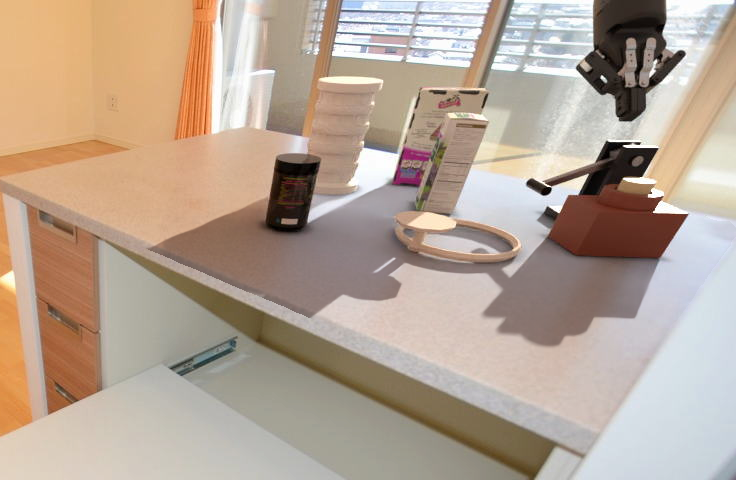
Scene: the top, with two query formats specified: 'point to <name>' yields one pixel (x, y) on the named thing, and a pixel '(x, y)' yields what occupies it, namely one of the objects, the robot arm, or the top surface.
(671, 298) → the top surface
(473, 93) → the candy bar box
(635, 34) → the robot arm
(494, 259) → the hand towel holder
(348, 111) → the decorative container
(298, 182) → the supplement container
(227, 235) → the top surface
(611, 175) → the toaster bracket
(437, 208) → the syrup box
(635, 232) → the box
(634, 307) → the top surface
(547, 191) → the lever
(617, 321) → the top surface
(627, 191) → the button
